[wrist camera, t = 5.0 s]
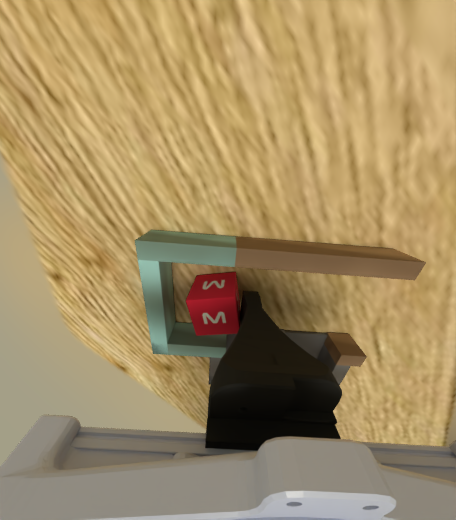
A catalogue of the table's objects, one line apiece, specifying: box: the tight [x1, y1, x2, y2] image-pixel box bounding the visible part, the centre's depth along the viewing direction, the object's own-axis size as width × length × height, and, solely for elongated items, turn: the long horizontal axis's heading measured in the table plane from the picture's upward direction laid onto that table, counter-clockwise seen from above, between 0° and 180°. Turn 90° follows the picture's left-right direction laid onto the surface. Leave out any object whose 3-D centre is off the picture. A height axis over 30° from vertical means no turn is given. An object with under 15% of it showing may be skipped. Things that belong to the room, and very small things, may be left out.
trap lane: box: [135, 230, 426, 385], centre depth 13 cm, size 13×17×2 cm
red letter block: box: [186, 272, 240, 336], centre depth 12 cm, size 3×3×3 cm
